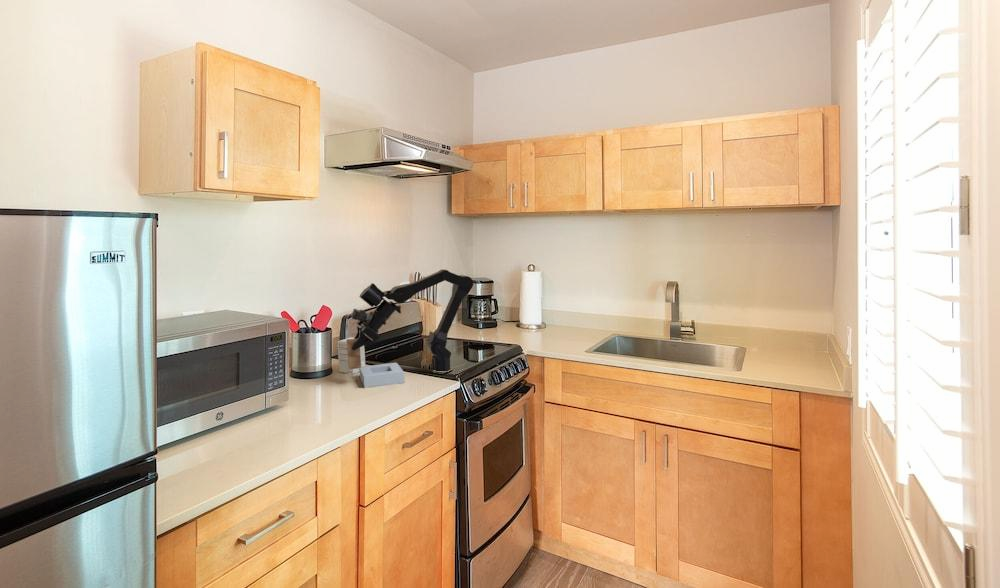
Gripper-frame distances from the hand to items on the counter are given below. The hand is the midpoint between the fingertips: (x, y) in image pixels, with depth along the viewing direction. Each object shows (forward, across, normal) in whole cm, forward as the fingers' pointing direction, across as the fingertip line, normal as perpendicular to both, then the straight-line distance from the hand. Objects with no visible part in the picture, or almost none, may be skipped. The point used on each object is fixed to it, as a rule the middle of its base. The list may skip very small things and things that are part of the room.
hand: (351, 348), depth 172 cm
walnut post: (+5, 0, +5) cm, 7 cm away
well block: (+2, 0, +16) cm, 16 cm away
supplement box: (+9, -17, +10) cm, 22 cm away
